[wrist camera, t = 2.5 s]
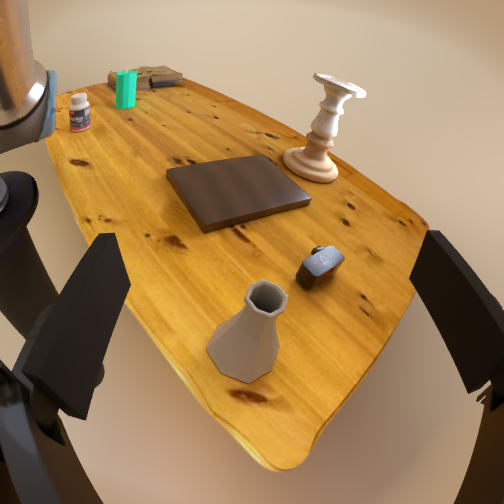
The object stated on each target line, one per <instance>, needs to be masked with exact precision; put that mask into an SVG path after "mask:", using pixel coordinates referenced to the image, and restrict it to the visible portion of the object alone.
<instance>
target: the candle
mask: <svg viewBox="0 0 504 504" xmlns="http://www.w3.org/2000/svg"><path fill="white" fill-rule="evenodd" d="M136 81H137V71H130V70H129V71H125V72H118V73H117V74H116V108H118V109H128V108H132V107H134V106H135V100H136Z"/></svg>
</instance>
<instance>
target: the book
mask: <svg viewBox="0 0 504 504" xmlns="http://www.w3.org/2000/svg"><path fill="white" fill-rule="evenodd" d="M130 71H137V81H136V91H142V90H149V89H151V86H165V85H173V83H172V82H176V81H183V80H184V79H182V73H179V72H176V71H174V70H172V69H170V68H168V67H166V66H159V67H140V68H138V69H132V70H130ZM122 72H125V71H122ZM117 73H118V72H112V71H110V73H109V74H108V83H107V85H108V86H109V87H110V88H111V89H112V90H113V91H114V92H115V93H116V74H117Z"/></svg>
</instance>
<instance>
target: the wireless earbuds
mask: <svg viewBox="0 0 504 504" xmlns="http://www.w3.org/2000/svg"><path fill="white" fill-rule="evenodd" d="M311 254H312V256H310V257H309V258H307V259H305V260H303V262H302V264H301V266H300V268H299V270H298V272H297V274H296V280H297V281H298V282H299V283H300V284H301V285H302V286H303V287H304V288H305V289H306V290H311V289H312V288H314V287H315V286H317V285H318V284H320V283H321V282H323V281H324V280H326V279H327V278H329V277H330V276H332V275H333V274H334V273H336V271H337V270H338V268H339V267H340V265H341V264H342V262H343V261H344V256H343V255H342V254H341V253H340V252H339V251H338V250H337V249H336V248H335V247H333V246H328V247H326V248H325V249H324V248H323V247H321V246H318V247H317V248H313V250H312V252H311Z"/></svg>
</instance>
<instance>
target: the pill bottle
mask: <svg viewBox="0 0 504 504" xmlns="http://www.w3.org/2000/svg"><path fill="white" fill-rule="evenodd" d="M86 99H87V93H78V94H75V95H73V96H71V103H72V104H71V105H70V107H69V115H70V128H71V131H73V132H80V131H84V130H86V129H88V128H89V127H90V105H89V102H88V101H86Z"/></svg>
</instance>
